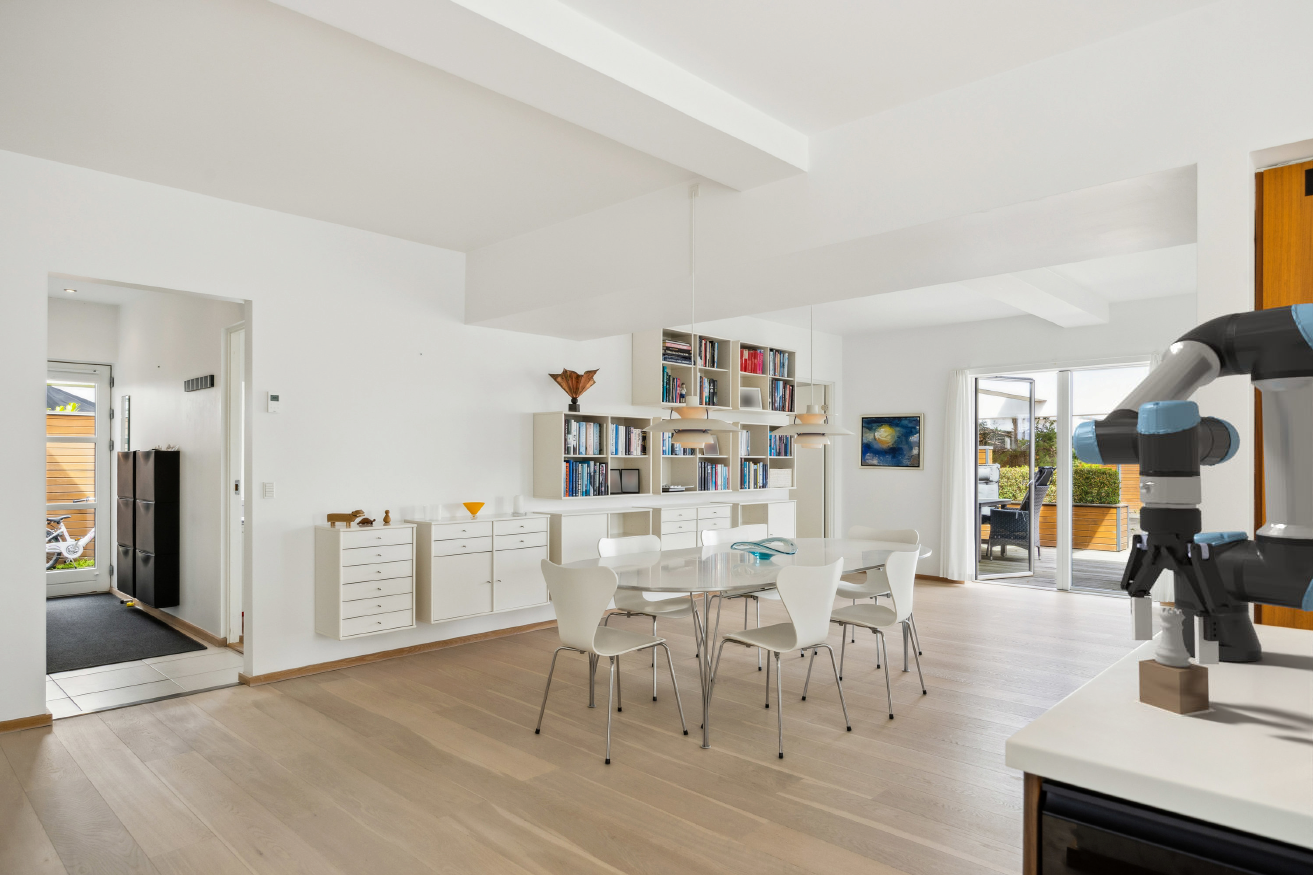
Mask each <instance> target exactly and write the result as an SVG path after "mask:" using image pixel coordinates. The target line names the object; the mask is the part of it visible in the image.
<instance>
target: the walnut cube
mask: <svg viewBox="0 0 1313 875" xmlns="http://www.w3.org/2000/svg"><path fill="white" fill-rule="evenodd" d="M1138 677H1139V678H1138V680H1139V681H1138V685H1139V691H1138V692H1139V694H1138V695H1139V700H1140V702H1142V703H1145V704H1148V705H1152V706H1155V707H1158V708H1161V709H1164V710H1167V711H1170V712H1174V713H1177V714H1180V715H1181V714H1186V713H1192V712H1198V711H1204V710H1209V708H1210V699H1209V698H1210V696H1209V691H1210V690H1209V667H1207V666H1205V665H1204V666H1203V665H1201V664H1197V663H1192V662H1191V664H1190V665H1189V666H1188V667H1186V668H1175V667H1168V666H1164V665H1160V664H1158V663H1157V662H1156V660H1155V658H1152V659H1144V660H1139V661H1138Z"/></svg>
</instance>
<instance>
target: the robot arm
mask: <svg viewBox="0 0 1313 875" xmlns="http://www.w3.org/2000/svg"><path fill="white" fill-rule="evenodd" d="M1160 361H1161V362H1160V363H1159V364H1158V365H1157V366H1156V367H1155V368H1154V369H1153V370H1152V371H1151V372H1150V373H1149V374H1148V375H1147V376H1146V377H1145V378H1144V379H1143V380H1142V381H1141V382H1140V383H1139V384H1138V385H1137V386H1136V387H1135V388H1134V389H1133V390H1132V391H1131V392H1130V393H1129V394H1128V395H1127V396H1126V397H1125V398H1123V400H1122V401H1120V403H1118V405H1117V406H1116V407H1115V408H1114V409H1113V410H1112V411H1111V412H1109V413H1108V415H1106V416H1105V417H1104V418H1103V419H1102V420H1097V419H1093V420H1090V421H1083V422H1080V423H1079V424H1078V425H1077V426H1076V427H1075V429H1074V432H1073V436H1072V445H1073V450H1074V454H1075V456H1076V457H1077V459H1078V460H1079V461H1081V462H1082V463H1083V464H1084V463H1085V464H1088V465H1089V464H1091V465H1102V466H1110V465H1111V466H1112V465H1113V466H1116V465H1117V466H1120V465H1121V466H1122V465H1125V466H1126V465H1127V466H1129V465H1130V466H1131V465H1133V466H1134V465H1137V466H1138V467H1139V471H1138V476H1139V485H1138V487H1139V502H1141V503H1142V504H1144V506H1141V508H1139V529H1140V530H1141V531H1143V532H1146V533H1147V534H1145V533H1138V534H1137V533H1134V534H1133V535H1132V540H1131V544H1132V545H1131V549H1130V552H1129V556H1128V558H1127V562H1126V566H1125V569H1124V572H1123V574H1122V579H1121V581H1120V584H1119V587H1120V589H1121V590H1122V591H1126V592H1127V595H1128V596H1129V597H1130V615H1131V640H1134V641H1154V640H1153V598H1152V593H1151V590H1152V588H1153V587H1154V586H1155V583H1156V582H1157V580H1158V578H1160V576H1161V574H1162V572H1163V571H1164V570H1165V569H1166V570H1168V571H1172V572H1173V596H1174V600H1173V601H1174V603H1173V606H1174V607H1173V610H1174V609H1175V608H1176V609H1179V610H1182V614H1183V615H1184V616H1185V618H1184V620H1183V621H1182V626H1183V627H1184V628H1183V629H1182V636H1183V642H1184V645H1185V648H1186V649H1187V650H1186V651H1187V652H1188V653H1189V654H1190V657H1193V658H1194V659H1195V660H1194V661H1195V662H1194V664H1196V665H1219V664H1220V662H1219V661H1223V662H1245V663H1246V662H1255V661H1259V660H1261V659H1262V658H1263V655H1262V654H1263V653H1262V645H1261V642H1260V640H1259V637H1258V634H1257V631H1256V629H1255V627H1254V625H1253V622H1252V620H1251V617H1250V608H1249V604H1251V603H1252V604H1256V605H1265V606H1272V607H1280V608H1281V607H1282V608H1287V609H1293V610H1294V609H1296V610H1301V611H1303V612H1313V303H1310V302H1309V303H1295V304H1294V303H1293V304H1290V305H1283V306H1278V307H1270V308H1264V309H1258V310H1251V311H1244V312H1235V313H1229V314H1225V315H1221V316H1217V317H1215V318H1213V319H1210V320H1208V321H1205V322H1203V323H1201V324H1200V325H1197V326H1196V327H1194V328H1192V329H1191V330H1189V331H1187V332H1186V333H1185V334H1183V335H1181V336H1180V337H1179V338H1177V340H1175V341H1174V342H1172V344H1170V346H1168V347H1167V349H1165V351H1164V352H1163V354H1162V355H1161V360H1160ZM1243 375H1245V376H1246V375H1250V384H1251V385H1252V386H1254V387H1255V388H1256V389H1258V390H1259V391H1260V392H1261V401H1262V402H1261V403H1262V404H1261V406H1262V435H1263V436H1262V437H1263V438H1262V439H1263V457H1264V458H1263V464H1264V467H1263V468H1264V494H1265V497H1264V498H1265V516H1266V517H1265V523H1264V525H1262V526H1261V527H1260V528H1258V529H1257V530H1256V532H1255V539H1256V540H1255V539H1249V538H1250V537H1249V535H1248V533H1247V532H1246V531H1244V530H1241V531H1240V530H1239V531H1238V530H1237V531H1235V530H1234V531H1215V532H1214V531H1213V532H1202V528H1203V527H1202V525H1203V524H1202V510H1201V509H1200V508H1199V507H1197V505H1200V504H1201V503H1202V478H1201V466H1203V467H1205V466H1206V467H1207V466H1209V467H1213V466H1216V465H1220V464H1224V463H1226V462H1228V461H1229V460H1231V459H1232V458H1233V457H1234V456H1236V454H1237V452H1238V451H1239V448H1240V445H1241V439H1240V435H1239V432H1238V430H1237V429H1236V427H1235V426H1234V425H1233V424H1232V423H1230V422H1229V421H1227V420H1224V419H1223V418H1222V419H1221V418H1218V417H1215V416H1211V415H1209V416H1201V415H1200V409H1199V408H1200V407H1199V405H1198V403H1196V402H1195V401H1193V400H1189V399H1190V397H1191V396H1193V394H1195V392H1196V391H1197V390H1198V389H1199V388H1202V387H1206V386H1207V385H1209V384H1211V383H1212V382H1213V381H1214V380H1216V379H1219V378H1223V377H1231V376H1232V377H1233V376H1243Z"/></svg>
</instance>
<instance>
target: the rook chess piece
mask: <svg viewBox="0 0 1313 875" xmlns="http://www.w3.org/2000/svg"><path fill="white" fill-rule="evenodd" d="M1158 617H1159V618H1160V619H1161V620H1162V621H1161V624H1160V627H1161V638H1160V642H1159V644H1158V648H1157V649H1155V652H1154V654H1155V655H1156V657H1155V658H1154V659H1155V660H1156V662H1157V663H1158V664H1160V665H1164V666H1168V667H1175V668H1186V667H1188V666H1189V665H1190V664H1191V663H1192V662H1191V661H1190V660H1189V659H1190V658H1191V656H1190V654H1189V653H1188V652H1187V651H1186V650H1187V649H1186V648H1185V645H1184V642H1183V636H1182V629H1183V628H1184V627H1183V626H1182V621H1183V620H1184V618H1185V616H1184V615H1183V614H1182V610H1179V609H1176V608H1175V609H1174V608H1173V610H1172V607H1167V608H1166V607H1161V610H1160V613H1158Z"/></svg>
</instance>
